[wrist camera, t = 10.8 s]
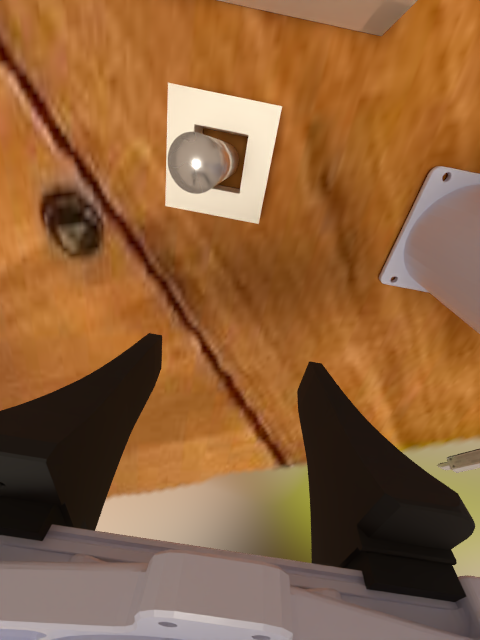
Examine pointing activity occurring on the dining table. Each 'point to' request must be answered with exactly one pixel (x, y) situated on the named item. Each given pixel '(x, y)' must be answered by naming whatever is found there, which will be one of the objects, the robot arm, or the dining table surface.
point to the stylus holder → (231, 117)
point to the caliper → (462, 461)
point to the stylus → (200, 161)
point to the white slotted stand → (338, 12)
